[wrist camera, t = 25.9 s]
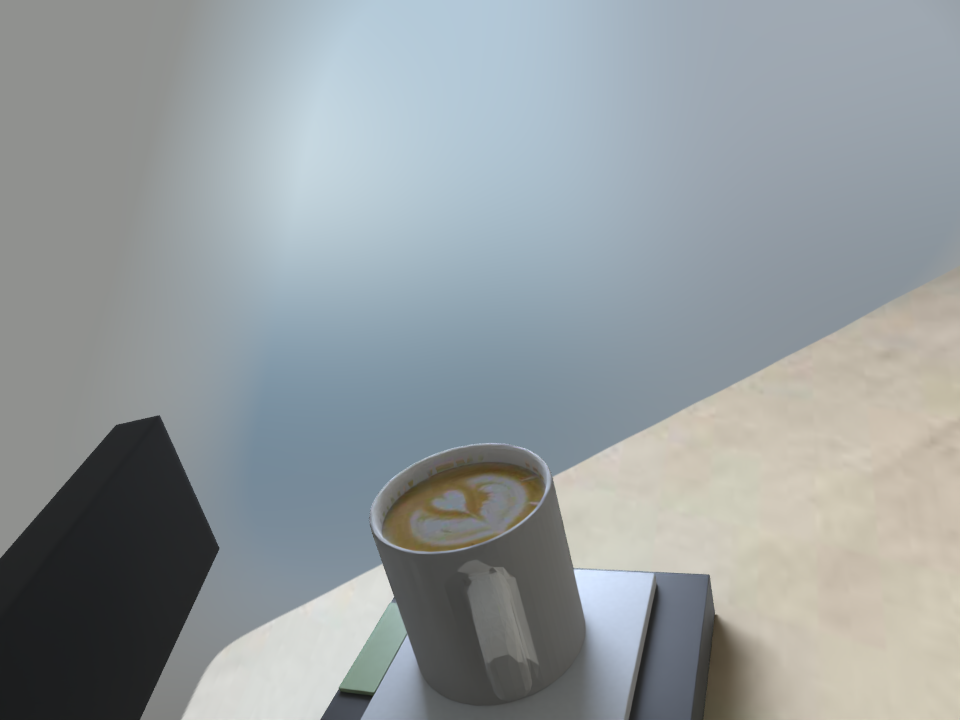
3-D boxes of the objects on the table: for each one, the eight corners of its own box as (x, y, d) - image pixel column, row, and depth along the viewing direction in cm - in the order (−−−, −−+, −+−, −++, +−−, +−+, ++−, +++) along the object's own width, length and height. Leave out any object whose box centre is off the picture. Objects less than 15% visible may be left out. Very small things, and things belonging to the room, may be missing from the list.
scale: (313, 797, 42) (291, 748, 41) (426, 593, 56) (413, 551, 54) (686, 870, 35) (676, 813, 33) (714, 612, 48) (708, 563, 46)
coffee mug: (425, 590, 50) (383, 460, 46) (578, 565, 49) (547, 429, 45) (399, 776, 38) (338, 621, 34) (601, 749, 37) (562, 585, 33)
